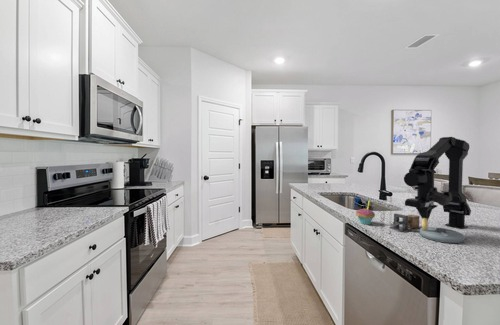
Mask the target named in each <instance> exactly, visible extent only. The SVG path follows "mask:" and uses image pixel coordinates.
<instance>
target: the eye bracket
mask: <svg viewBox="0 0 500 325" xmlns="http://www.w3.org/2000/svg"><path fill="white" fill-rule="evenodd" d="M406 215H407V214H401V213H393V222H399V221H400V218H401V219H402V220H401V221H402V224H401V225H402V226H401V225H396V226H394V227H393V226H391V225H390V226H389V229H392V230H395V231H398V232H402V233H409V232H413V228H409V227H408V216H406Z"/></svg>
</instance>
